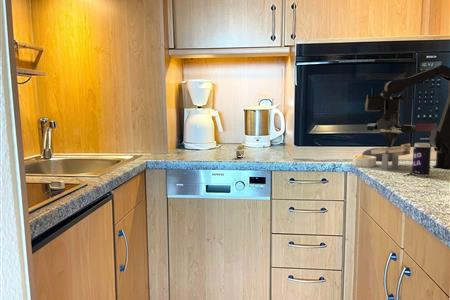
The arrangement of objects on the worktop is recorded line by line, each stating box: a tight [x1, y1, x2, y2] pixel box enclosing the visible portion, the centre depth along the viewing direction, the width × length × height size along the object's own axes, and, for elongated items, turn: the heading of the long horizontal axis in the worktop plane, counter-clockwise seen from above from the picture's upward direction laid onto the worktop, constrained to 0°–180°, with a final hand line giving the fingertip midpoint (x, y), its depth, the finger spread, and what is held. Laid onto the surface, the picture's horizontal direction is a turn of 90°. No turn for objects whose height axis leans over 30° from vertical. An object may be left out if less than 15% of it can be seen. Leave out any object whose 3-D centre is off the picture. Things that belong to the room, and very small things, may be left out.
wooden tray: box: [371, 143, 412, 157], centre depth 147 cm, size 16×13×4 cm
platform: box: [233, 144, 247, 157], centre depth 183 cm, size 12×18×7 cm, turn 159°
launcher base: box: [345, 152, 414, 177], centre depth 148 cm, size 14×24×7 cm, turn 42°
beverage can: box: [411, 142, 432, 178], centre depth 135 cm, size 6×6×12 cm
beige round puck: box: [352, 154, 377, 167], centre depth 153 cm, size 9×9×4 cm
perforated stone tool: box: [361, 146, 393, 162], centre depth 167 cm, size 15×5×7 cm, turn 79°
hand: (389, 148), depth 156 cm, fingers closed
